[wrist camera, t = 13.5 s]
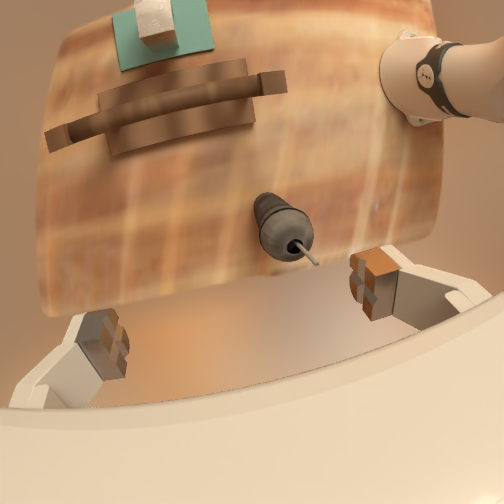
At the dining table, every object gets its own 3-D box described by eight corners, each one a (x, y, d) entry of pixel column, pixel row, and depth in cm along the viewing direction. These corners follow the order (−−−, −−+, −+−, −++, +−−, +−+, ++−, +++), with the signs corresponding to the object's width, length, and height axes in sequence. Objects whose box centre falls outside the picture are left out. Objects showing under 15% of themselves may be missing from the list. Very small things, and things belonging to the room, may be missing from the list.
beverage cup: (245, 184, 48) (275, 237, 31) (289, 183, 49) (341, 233, 32) (245, 227, 52) (273, 296, 34) (287, 224, 53) (333, 289, 35)
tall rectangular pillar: (172, 6, 32) (166, -20, 23) (179, 46, 36) (174, 29, 26) (146, 13, 32) (132, -11, 23) (152, 52, 36) (139, 38, 26)
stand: (243, 59, 39) (282, 26, 20) (254, 121, 44) (299, 137, 25) (100, 94, 37) (31, 93, 18) (114, 154, 42) (57, 196, 23)
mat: (204, -7, 33) (204, -8, 32) (214, 48, 37) (214, 48, 37) (113, 15, 32) (112, 15, 31) (121, 71, 36) (120, 71, 36)
